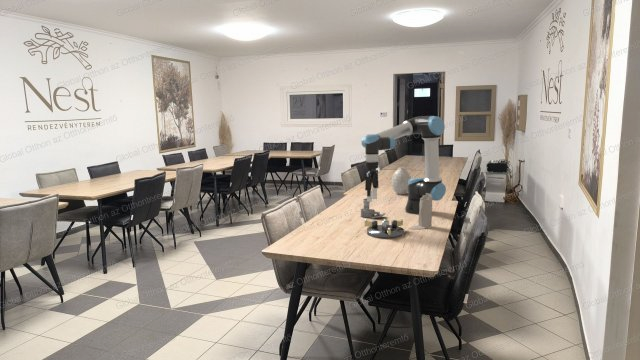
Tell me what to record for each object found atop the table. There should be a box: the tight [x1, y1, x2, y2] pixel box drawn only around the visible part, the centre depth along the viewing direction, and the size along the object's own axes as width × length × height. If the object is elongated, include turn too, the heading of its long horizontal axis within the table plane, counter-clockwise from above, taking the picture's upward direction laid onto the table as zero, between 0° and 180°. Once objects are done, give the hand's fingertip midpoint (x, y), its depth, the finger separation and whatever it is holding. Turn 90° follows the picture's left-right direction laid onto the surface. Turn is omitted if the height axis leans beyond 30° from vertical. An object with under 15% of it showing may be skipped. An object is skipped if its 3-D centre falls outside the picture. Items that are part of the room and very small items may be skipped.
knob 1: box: [364, 219, 379, 229], centre depth 242 cm, size 8×3×4 cm, turn 61°
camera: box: [360, 198, 386, 219], centre depth 273 cm, size 9×12×15 cm
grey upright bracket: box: [409, 193, 433, 230], centre depth 247 cm, size 7×14×20 cm, turn 112°
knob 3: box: [391, 218, 404, 228], centre depth 242 cm, size 8×3×4 cm, turn 121°
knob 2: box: [385, 224, 391, 235], centre depth 229 cm, size 8×3×4 cm, turn 1°
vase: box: [391, 166, 412, 196], centre depth 345 cm, size 16×16×22 cm
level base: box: [366, 218, 405, 240], centre depth 238 cm, size 21×21×8 cm
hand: (371, 200), depth 246 cm, fingers open, 7 cm apart
